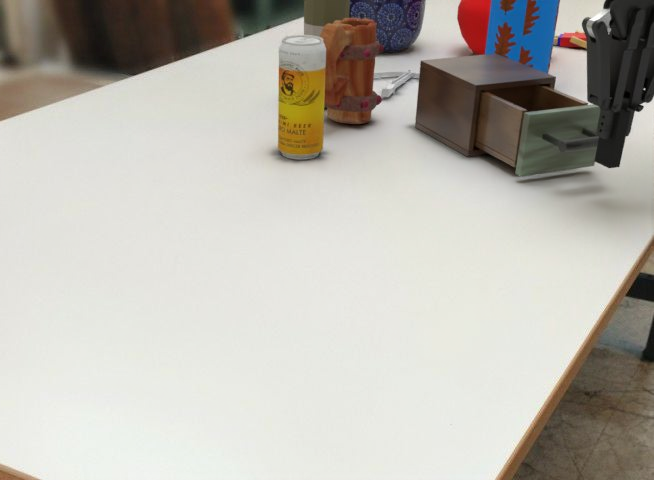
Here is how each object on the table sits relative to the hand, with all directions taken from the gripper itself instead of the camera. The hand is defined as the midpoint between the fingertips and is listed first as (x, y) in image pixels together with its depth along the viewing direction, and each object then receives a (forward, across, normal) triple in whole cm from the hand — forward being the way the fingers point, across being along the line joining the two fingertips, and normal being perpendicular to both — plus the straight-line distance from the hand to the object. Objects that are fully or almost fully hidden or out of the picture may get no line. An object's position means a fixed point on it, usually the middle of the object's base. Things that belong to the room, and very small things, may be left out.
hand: (606, 163), depth 110 cm
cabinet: (+5, 0, -27) cm, 28 cm away
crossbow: (+5, -2, -55) cm, 55 cm away
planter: (+5, -13, -83) cm, 84 cm away
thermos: (+5, -21, -49) cm, 54 cm away
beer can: (+5, +27, -29) cm, 40 cm away
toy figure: (+5, -51, -71) cm, 88 cm away
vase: (+5, -32, -69) cm, 76 cm away
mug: (+5, +16, -39) cm, 43 cm away
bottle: (+5, +14, -50) cm, 52 cm away
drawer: (+4, 0, -13) cm, 13 cm away
